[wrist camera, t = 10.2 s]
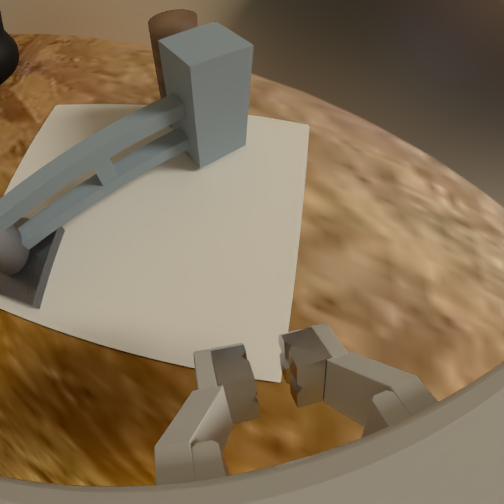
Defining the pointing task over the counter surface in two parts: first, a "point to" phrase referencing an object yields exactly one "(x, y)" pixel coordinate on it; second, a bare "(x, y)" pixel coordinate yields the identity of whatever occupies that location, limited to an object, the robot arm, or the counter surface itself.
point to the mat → (177, 245)
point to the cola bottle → (7, 54)
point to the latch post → (166, 27)
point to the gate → (142, 137)
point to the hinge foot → (32, 270)
